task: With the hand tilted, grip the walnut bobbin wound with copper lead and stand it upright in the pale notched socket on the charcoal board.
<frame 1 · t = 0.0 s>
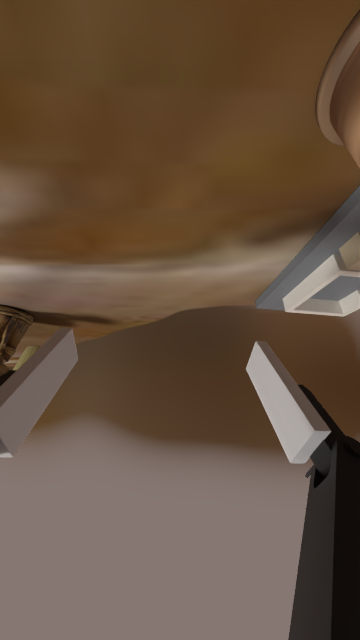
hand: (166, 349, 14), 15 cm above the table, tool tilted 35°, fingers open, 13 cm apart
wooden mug: (16, 310, 44), on the table
board: (345, 266, 27), on the table
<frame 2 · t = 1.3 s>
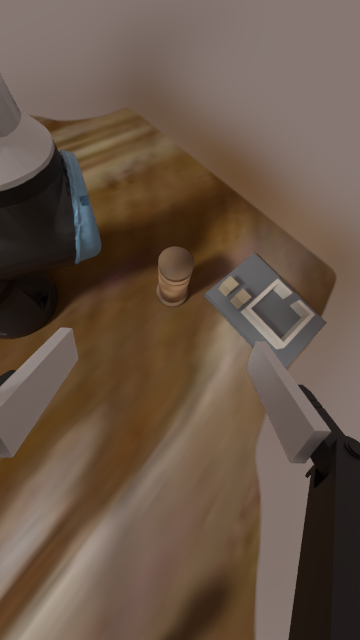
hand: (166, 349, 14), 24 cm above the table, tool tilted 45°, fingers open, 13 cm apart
bobbin: (172, 292, 41), on the table
board: (263, 310, 42), on the table
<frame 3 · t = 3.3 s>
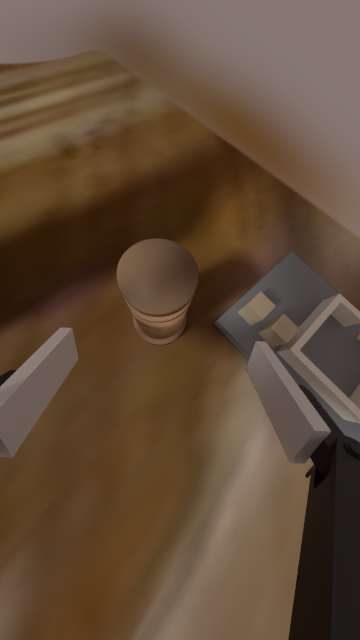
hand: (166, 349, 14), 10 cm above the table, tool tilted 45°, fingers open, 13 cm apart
bobbin: (160, 319, 24), on the table
board: (311, 344, 25), on the table
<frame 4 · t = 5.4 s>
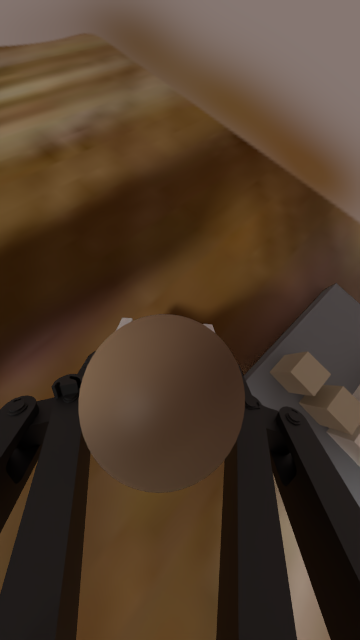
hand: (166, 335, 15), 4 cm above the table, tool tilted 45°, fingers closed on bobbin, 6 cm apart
bobbin: (163, 380, 18), on the table, touching gripper
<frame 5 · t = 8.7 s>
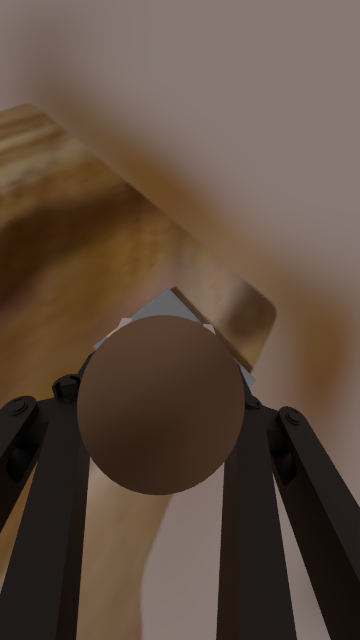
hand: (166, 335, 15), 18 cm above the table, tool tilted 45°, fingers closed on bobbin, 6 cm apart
bobbin: (163, 381, 18), point 14 cm above the table, touching gripper
board: (175, 363, 32), on the table
when the fingers open (6 cm above the table, at t = 12.0 s): bobbin stays where it is, resting on board.
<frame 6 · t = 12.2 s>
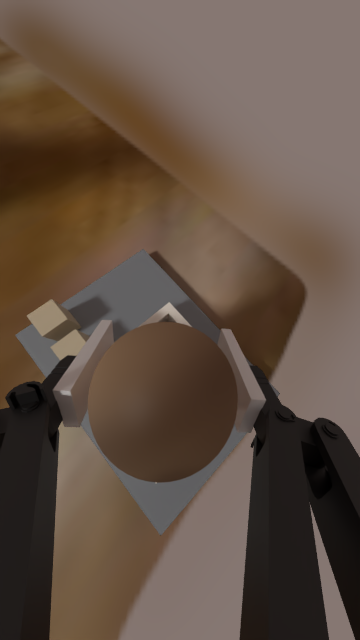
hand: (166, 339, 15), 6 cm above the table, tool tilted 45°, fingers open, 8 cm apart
bobbin: (164, 381, 19), point 2 cm above the table, touching board
board: (151, 365, 20), on the table
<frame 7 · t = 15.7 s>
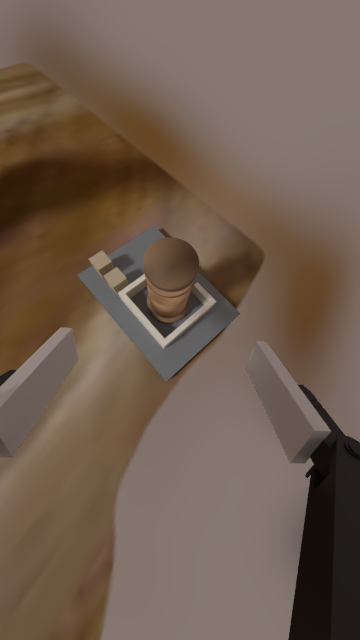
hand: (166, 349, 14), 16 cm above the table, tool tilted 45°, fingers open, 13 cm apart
bobbin: (168, 303, 30), point 1 cm above the table, touching board
board: (159, 298, 32), on the table
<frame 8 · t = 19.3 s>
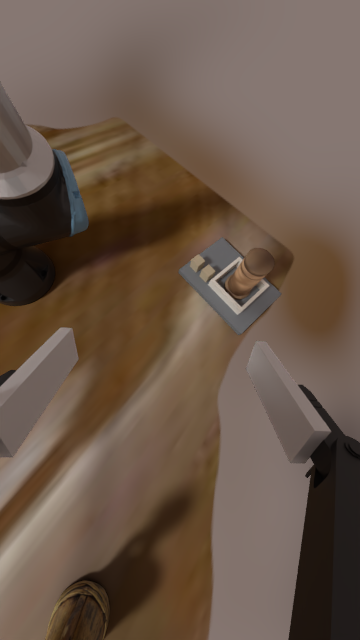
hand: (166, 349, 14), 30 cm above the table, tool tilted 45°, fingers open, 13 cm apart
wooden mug: (86, 595, 31), on the table
bobbin: (236, 287, 48), point 1 cm above the table, touching board
board: (228, 284, 49), on the table
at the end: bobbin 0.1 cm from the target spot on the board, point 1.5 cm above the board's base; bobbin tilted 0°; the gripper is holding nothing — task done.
